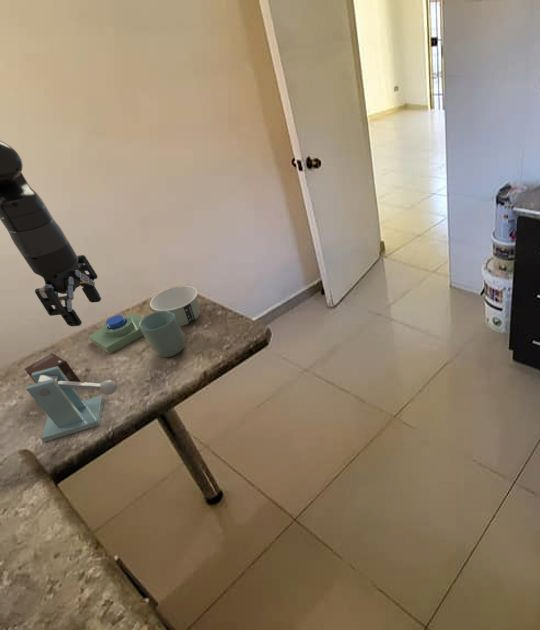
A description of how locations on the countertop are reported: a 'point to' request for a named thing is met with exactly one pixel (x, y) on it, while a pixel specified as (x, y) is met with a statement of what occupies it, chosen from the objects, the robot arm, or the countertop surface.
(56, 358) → the box
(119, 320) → the flush button
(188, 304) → the food container
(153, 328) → the cup
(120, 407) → the countertop surface
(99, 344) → the button block
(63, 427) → the lever bracket
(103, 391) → the flush lever
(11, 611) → the countertop surface
